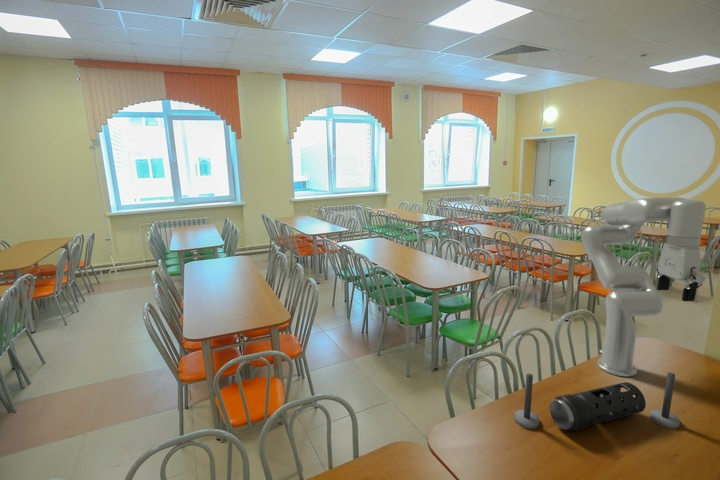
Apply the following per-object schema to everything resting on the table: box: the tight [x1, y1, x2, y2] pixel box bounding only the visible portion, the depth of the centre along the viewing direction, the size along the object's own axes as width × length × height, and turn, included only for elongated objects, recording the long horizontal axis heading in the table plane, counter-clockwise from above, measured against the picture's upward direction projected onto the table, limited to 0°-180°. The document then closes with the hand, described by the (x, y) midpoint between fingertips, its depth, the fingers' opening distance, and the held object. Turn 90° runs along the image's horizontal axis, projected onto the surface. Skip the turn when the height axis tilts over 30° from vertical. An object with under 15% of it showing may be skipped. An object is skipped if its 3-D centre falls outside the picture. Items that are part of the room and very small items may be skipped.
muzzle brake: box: [549, 381, 647, 431], centre depth 111 cm, size 10×28×10 cm, turn 105°
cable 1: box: [514, 373, 540, 430], centre depth 111 cm, size 7×7×16 cm
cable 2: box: [649, 372, 681, 430], centre depth 109 cm, size 7×7×16 cm
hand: (674, 295), depth 111 cm, fingers open, 9 cm apart
